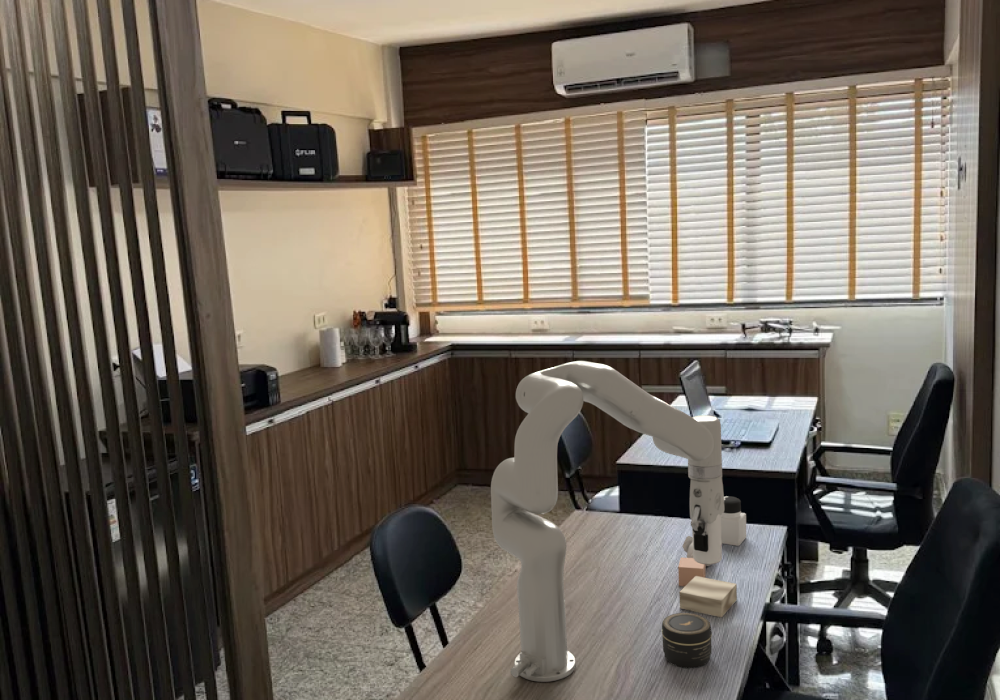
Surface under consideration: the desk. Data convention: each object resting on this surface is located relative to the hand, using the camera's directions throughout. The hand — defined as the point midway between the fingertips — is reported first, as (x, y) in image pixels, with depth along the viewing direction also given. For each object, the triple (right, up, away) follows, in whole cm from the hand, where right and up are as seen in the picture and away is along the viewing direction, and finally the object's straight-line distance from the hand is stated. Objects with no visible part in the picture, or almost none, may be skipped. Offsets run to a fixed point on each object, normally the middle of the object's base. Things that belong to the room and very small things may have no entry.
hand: (707, 544), depth 196 cm
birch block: (+1, -14, +2) cm, 15 cm away
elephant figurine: (+5, -11, +25) cm, 28 cm away
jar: (-9, -19, -21) cm, 30 cm away
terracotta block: (0, -13, +15) cm, 20 cm away
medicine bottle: (+16, -8, +40) cm, 44 cm away
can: (0, -4, +1) cm, 4 cm away
